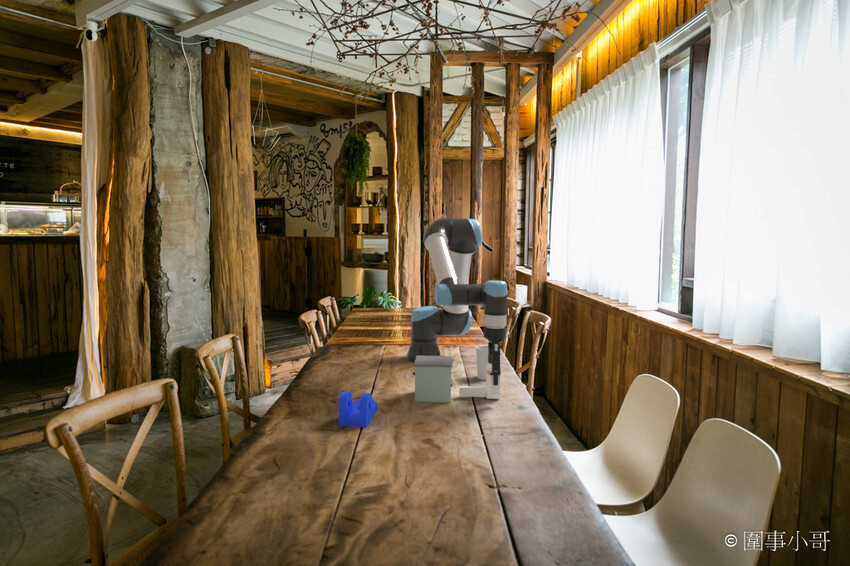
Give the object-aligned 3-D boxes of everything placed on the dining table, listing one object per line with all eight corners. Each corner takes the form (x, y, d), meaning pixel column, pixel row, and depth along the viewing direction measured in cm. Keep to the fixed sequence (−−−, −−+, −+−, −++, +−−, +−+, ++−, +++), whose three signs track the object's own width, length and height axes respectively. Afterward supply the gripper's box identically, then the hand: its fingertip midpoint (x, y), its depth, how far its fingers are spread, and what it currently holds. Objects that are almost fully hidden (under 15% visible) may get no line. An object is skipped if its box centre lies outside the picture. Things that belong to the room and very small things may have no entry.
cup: (495, 375, 191) (495, 345, 190) (496, 381, 184) (497, 350, 182) (475, 374, 192) (475, 345, 191) (475, 380, 184) (475, 349, 183)
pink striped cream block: (499, 396, 165) (499, 365, 164) (499, 399, 162) (500, 367, 161) (459, 394, 166) (459, 363, 165) (459, 397, 163) (459, 366, 162)
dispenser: (452, 391, 170) (453, 356, 169) (452, 402, 159) (453, 365, 158) (416, 390, 171) (416, 355, 170) (413, 401, 160) (414, 364, 158)
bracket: (366, 427, 138) (366, 397, 137) (338, 426, 139) (338, 396, 138) (380, 405, 156) (380, 379, 155) (355, 404, 157) (355, 377, 156)
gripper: (481, 319, 174) (480, 376, 176) (486, 333, 149) (484, 399, 151) (502, 320, 174) (500, 377, 176) (510, 334, 149) (508, 400, 151)
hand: (493, 387), depth 164 cm, fingers open, 13 cm apart
